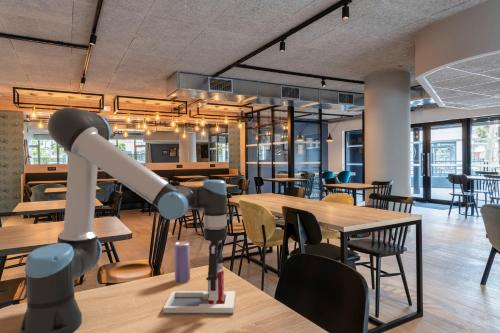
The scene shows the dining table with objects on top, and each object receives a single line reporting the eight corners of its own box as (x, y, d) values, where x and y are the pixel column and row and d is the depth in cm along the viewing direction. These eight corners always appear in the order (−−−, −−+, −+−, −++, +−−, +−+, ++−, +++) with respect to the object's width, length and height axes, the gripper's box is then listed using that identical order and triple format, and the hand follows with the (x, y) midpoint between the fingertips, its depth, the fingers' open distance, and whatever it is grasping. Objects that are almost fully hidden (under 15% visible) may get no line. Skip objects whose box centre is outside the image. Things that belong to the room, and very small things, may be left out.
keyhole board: (163, 314, 100) (163, 307, 100) (173, 297, 112) (172, 291, 112) (233, 314, 99) (233, 307, 99) (235, 297, 111) (235, 291, 111)
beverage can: (182, 284, 122) (182, 246, 122) (171, 281, 126) (171, 243, 125) (193, 279, 127) (192, 242, 127) (182, 276, 131) (182, 240, 130)
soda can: (221, 308, 102) (221, 271, 102) (206, 306, 103) (205, 270, 103) (225, 300, 107) (225, 266, 107) (211, 299, 108) (210, 264, 108)
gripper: (223, 236, 92) (223, 308, 93) (229, 219, 117) (230, 275, 118) (197, 236, 92) (198, 308, 93) (209, 219, 117) (210, 275, 118)
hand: (216, 290), depth 105 cm, fingers open, 13 cm apart
